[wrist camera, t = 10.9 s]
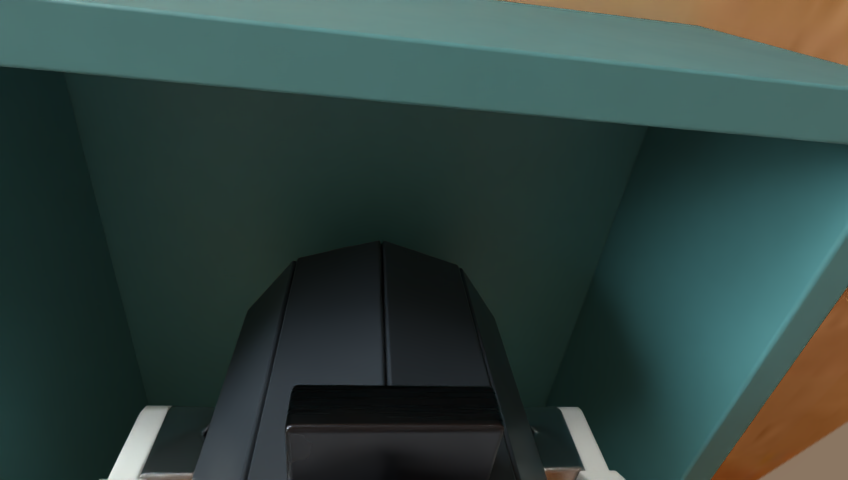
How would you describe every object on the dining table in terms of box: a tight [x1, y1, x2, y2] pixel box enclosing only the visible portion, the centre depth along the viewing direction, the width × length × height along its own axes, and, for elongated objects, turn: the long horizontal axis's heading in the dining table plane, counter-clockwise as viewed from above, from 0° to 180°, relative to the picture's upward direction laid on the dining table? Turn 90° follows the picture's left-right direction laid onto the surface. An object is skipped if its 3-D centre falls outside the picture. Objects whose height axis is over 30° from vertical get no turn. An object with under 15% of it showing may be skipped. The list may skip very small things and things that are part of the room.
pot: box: [192, 240, 547, 480], centre depth 10 cm, size 9×6×7 cm
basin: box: [0, 0, 848, 480], centre depth 13 cm, size 17×17×7 cm
